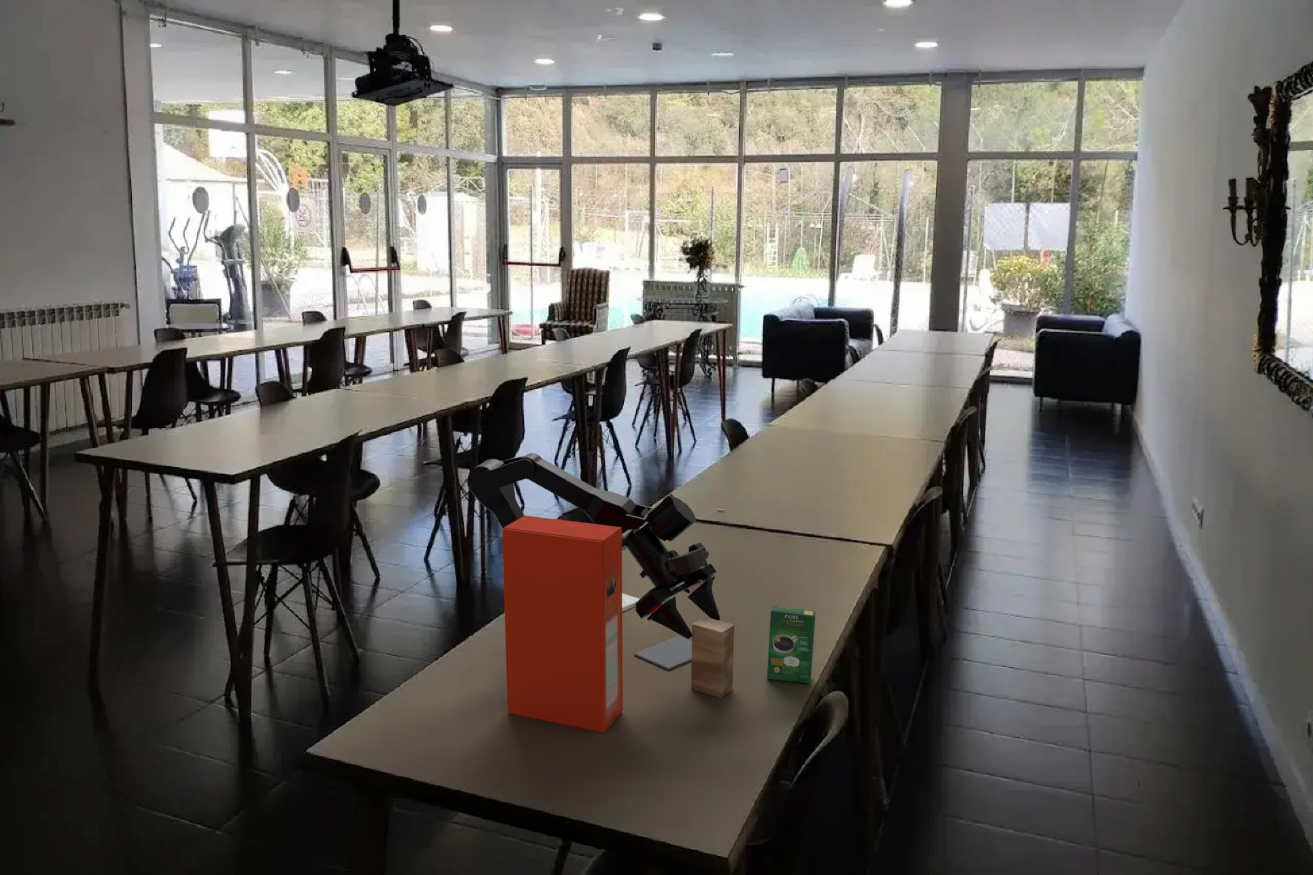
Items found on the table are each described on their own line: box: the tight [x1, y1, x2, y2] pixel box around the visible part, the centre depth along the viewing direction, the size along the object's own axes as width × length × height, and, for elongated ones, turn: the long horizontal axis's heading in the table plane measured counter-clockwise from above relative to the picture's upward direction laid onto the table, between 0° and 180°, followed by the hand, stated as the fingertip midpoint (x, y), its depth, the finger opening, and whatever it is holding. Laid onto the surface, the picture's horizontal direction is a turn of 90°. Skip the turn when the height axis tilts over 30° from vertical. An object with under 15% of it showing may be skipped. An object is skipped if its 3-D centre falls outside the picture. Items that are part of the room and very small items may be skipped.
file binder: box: [501, 515, 624, 733], centre depth 165 cm, size 8×17×32 cm, turn 69°
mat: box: [633, 635, 692, 671], centre depth 192 cm, size 12×9×1 cm
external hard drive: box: [622, 592, 640, 613], centre depth 215 cm, size 2×8×12 cm
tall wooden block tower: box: [690, 616, 735, 699], centre depth 176 cm, size 4×6×12 cm, turn 55°
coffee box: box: [766, 605, 816, 685], centre depth 180 cm, size 8×3×13 cm, turn 77°
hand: (704, 629), depth 178 cm, fingers open, 9 cm apart
